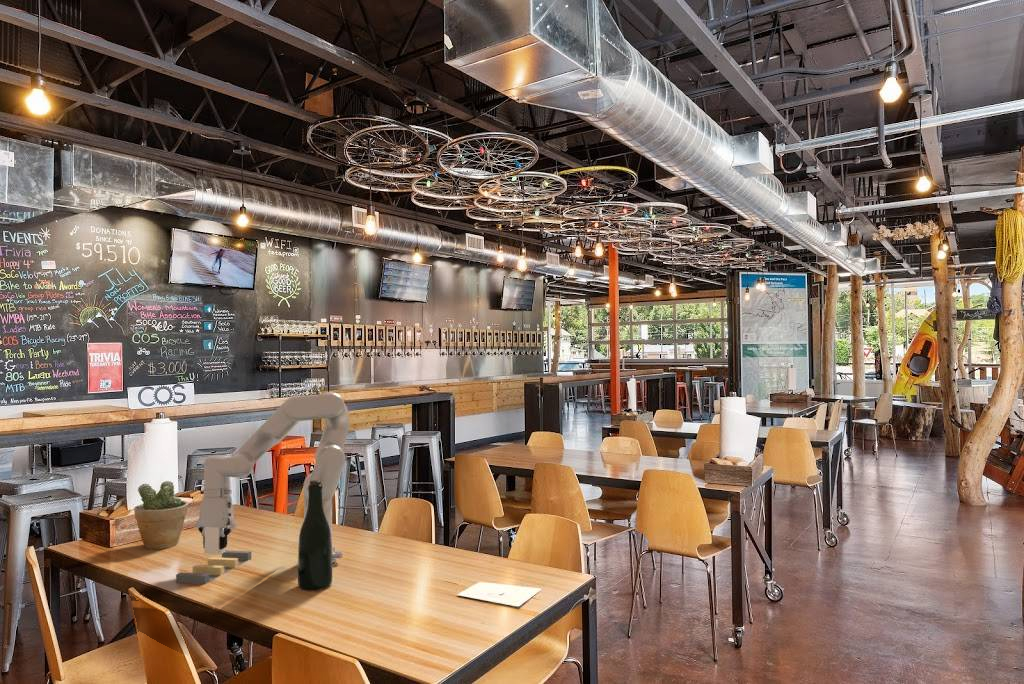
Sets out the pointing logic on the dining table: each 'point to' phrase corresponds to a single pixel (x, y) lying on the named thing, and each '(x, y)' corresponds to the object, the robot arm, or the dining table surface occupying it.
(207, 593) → the dining table surface
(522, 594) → the paper sheet
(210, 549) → the frame block
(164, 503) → the potted plant
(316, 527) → the beer bottle
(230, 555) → the notch rail
